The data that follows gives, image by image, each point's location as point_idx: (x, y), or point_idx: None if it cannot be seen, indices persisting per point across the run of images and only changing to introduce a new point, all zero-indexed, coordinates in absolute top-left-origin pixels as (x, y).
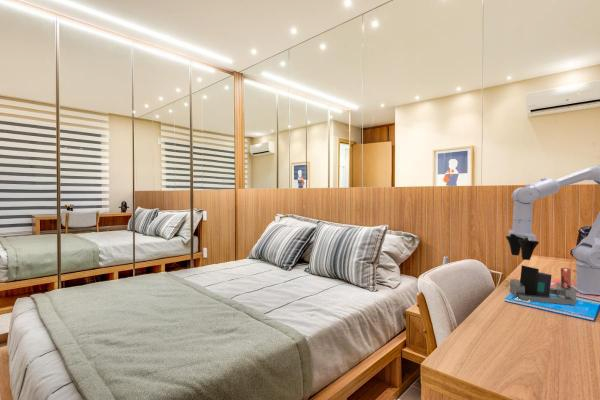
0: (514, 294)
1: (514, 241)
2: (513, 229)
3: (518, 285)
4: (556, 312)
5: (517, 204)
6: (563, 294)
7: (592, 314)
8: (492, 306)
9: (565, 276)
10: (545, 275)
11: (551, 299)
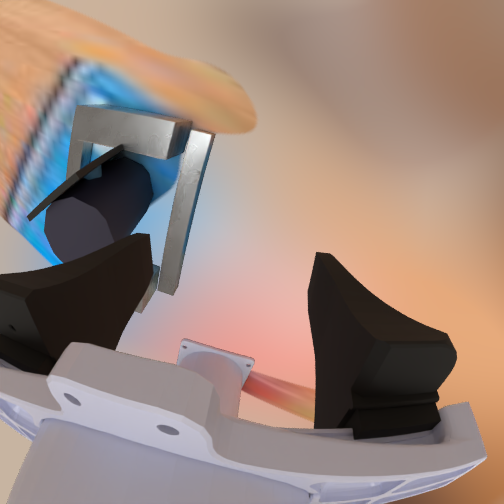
0: (119, 107)
1: (338, 358)
2: (96, 494)
3: (80, 117)
4: (22, 169)
5: None
6: None
7: (32, 244)
8: (44, 22)
9: None
10: (47, 233)
11: None
